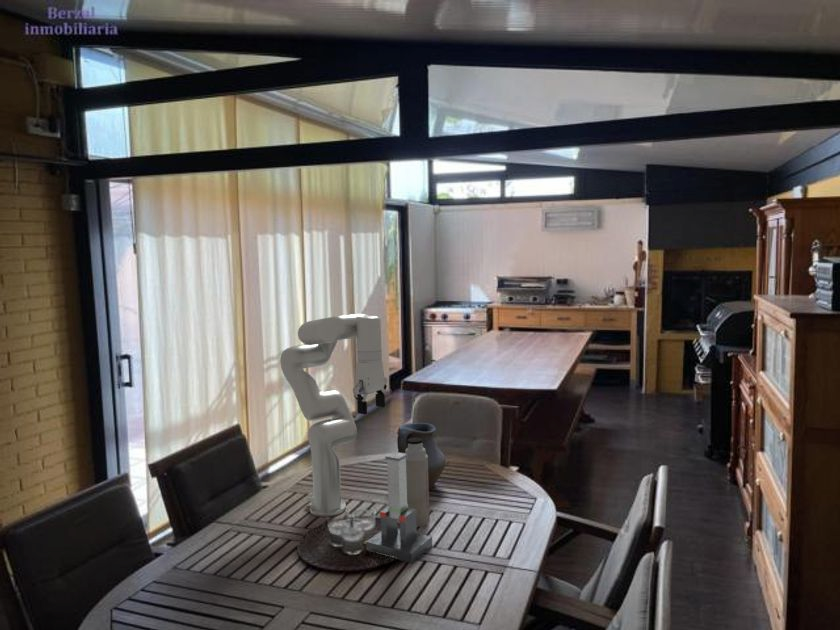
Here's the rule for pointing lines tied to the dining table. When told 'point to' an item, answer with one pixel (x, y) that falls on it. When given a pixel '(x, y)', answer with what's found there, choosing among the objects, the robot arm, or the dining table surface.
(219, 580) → the dining table surface
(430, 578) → the dining table surface
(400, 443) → the pitcher
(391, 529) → the base
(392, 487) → the column
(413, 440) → the thermos bottle
